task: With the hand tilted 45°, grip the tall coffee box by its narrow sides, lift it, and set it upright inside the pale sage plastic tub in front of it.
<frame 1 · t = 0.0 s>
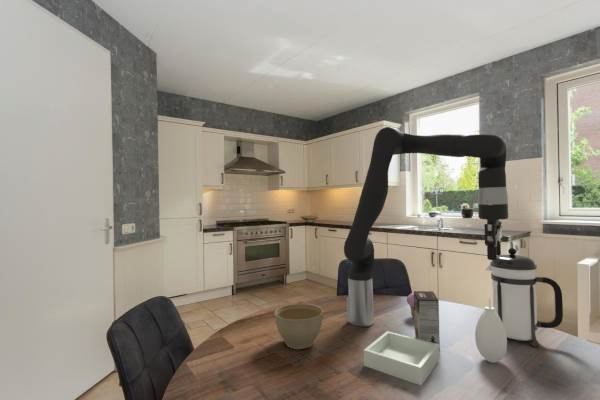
hand: (494, 257, 92), 29 cm above the table, tool pointing down, fingers open, 8 cm apart
coffee box: (427, 344, 101), on the table
planter bowl: (299, 343, 104), on the table
coffee press: (519, 339, 103), on the table
tub: (402, 362, 90), on the table
cupcake: (419, 317, 124), on the table
sauce bottle: (491, 361, 89), on the table
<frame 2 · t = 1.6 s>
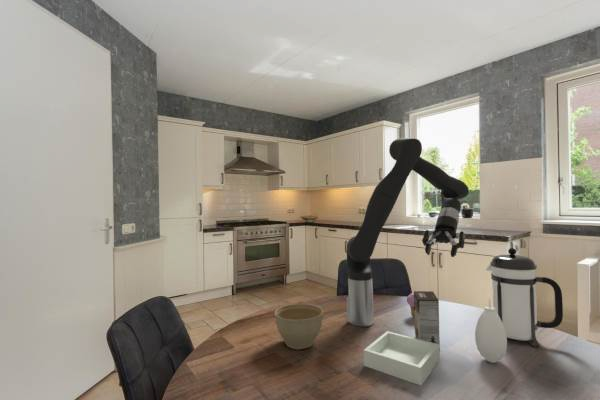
hand: (439, 254, 113), 27 cm above the table, tool tilted 45°, fingers open, 8 cm apart
nothing on the table moved.
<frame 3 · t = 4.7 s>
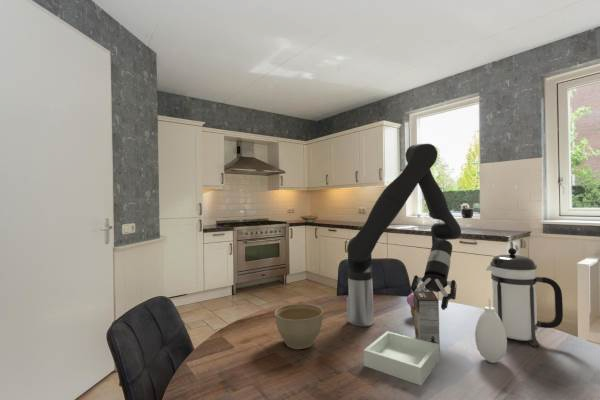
hand: (429, 306, 103), 11 cm above the table, tool tilted 45°, fingers open, 8 cm apart
coffee box: (427, 344, 101), on the table, touching gripper
everything else where it was.
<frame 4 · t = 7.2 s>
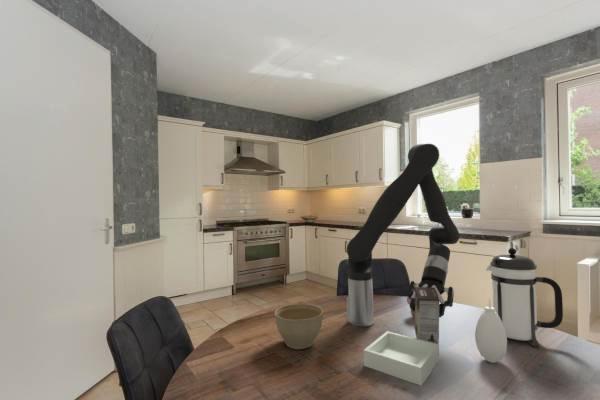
hand: (425, 313, 101), 10 cm above the table, tool tilted 45°, fingers closed on coffee box, 8 cm apart
coffee box: (426, 339, 101), point 1 cm above the table, touching gripper
everything else where it was.
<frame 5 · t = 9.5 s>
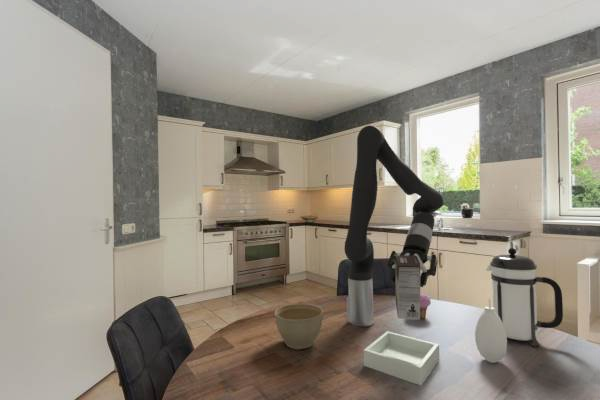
hand: (406, 283, 92), 22 cm above the table, tool tilted 45°, fingers closed on coffee box, 8 cm apart
coffee box: (407, 312, 92), point 14 cm above the table, touching gripper
everything else where it was.
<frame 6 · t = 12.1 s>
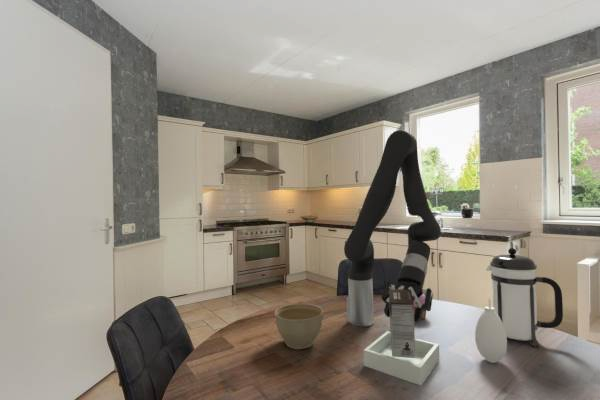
hand: (400, 318, 90), 13 cm above the table, tool tilted 45°, fingers closed on coffee box, 8 cm apart
coffee box: (402, 348, 89), point 4 cm above the table, touching gripper
everything else where it was.
when the fingers open (11 cm above the table, at t = 14.2 s): coffee box stays where it is, resting on tub.
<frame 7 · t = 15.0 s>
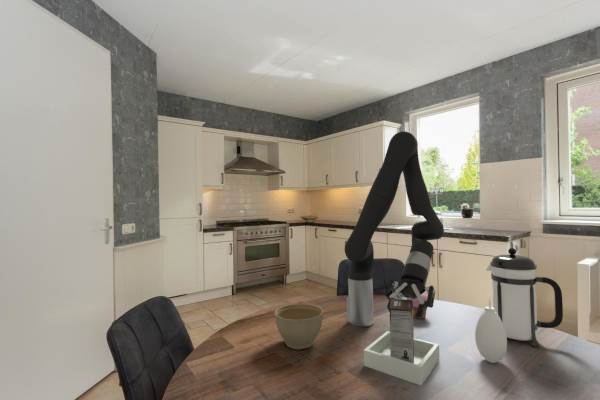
hand: (403, 314, 92), 13 cm above the table, tool tilted 45°, fingers open, 8 cm apart
coffee box: (402, 359, 90), point 1 cm above the table, touching gripper, tub
everything else where it was.
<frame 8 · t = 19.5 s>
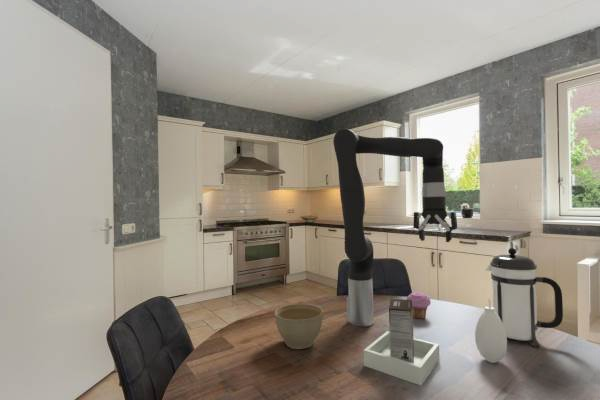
hand: (435, 241, 110), 32 cm above the table, tool pointing down, fingers open, 8 cm apart
coffee box: (402, 359, 90), point 1 cm above the table, touching tub
everything else where it was.
at the end: coffee box inside the target area on the tub (0.3 cm from its centre), point 0.8 cm above the tub's base; coffee box tilted 0°; the gripper is holding nothing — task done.
